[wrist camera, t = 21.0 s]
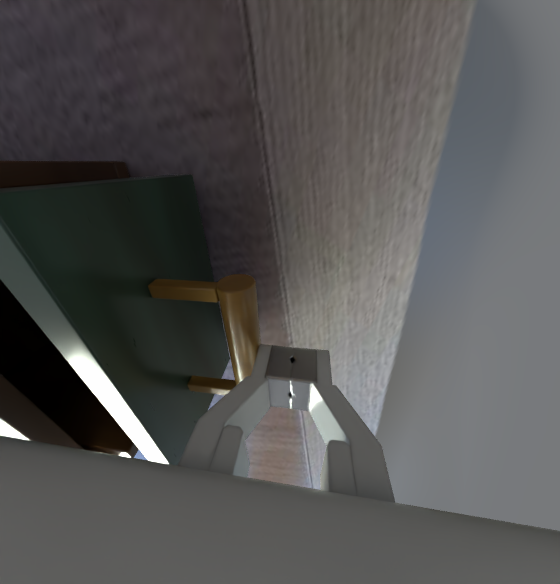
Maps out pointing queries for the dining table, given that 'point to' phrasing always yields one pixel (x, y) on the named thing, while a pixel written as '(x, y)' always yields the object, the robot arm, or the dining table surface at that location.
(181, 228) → the drawer
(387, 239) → the dining table surface
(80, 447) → the cabinet
